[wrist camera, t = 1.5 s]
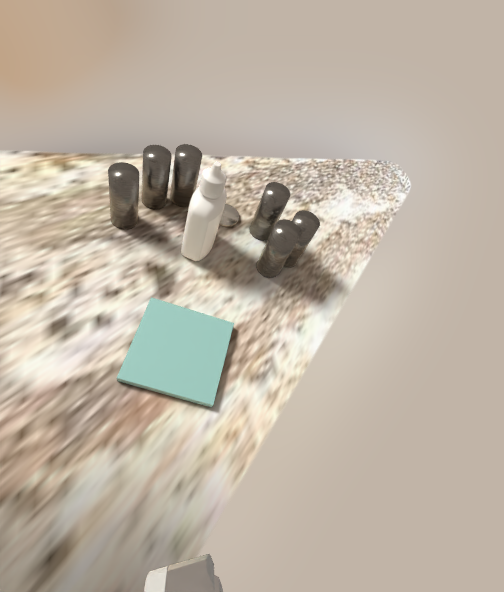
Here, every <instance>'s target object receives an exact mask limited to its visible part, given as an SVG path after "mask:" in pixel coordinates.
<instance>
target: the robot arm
mask: <svg viewBox="0 0 504 592" xmlns="http://www.w3.org/2000/svg"><path fill="white" fill-rule="evenodd" d="M144 592H223V589H222V585H221V582H220V579H219V577H217V576H215V575H214V563H213V561H212V558H211V556H210V555H209V554H207V555H203V556H200V557H196V558H193V559H189V560H186V561H182V562H179V563H175V564H172V565H169V566H166V567H162V568H159V569H156V570H152V571H149V573H148V575H147V578H146V581H145V587H144Z"/></svg>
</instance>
